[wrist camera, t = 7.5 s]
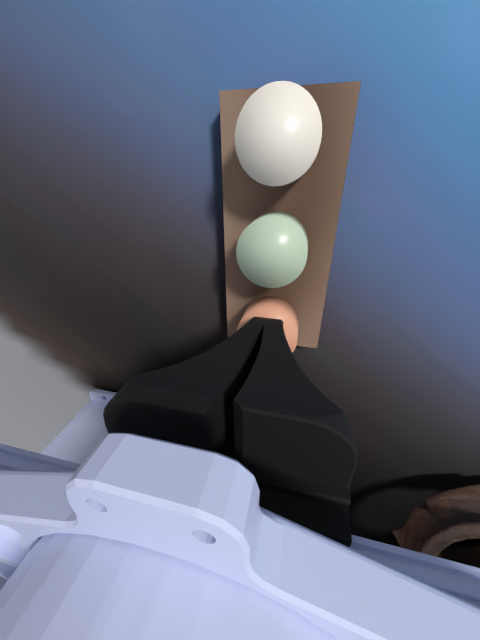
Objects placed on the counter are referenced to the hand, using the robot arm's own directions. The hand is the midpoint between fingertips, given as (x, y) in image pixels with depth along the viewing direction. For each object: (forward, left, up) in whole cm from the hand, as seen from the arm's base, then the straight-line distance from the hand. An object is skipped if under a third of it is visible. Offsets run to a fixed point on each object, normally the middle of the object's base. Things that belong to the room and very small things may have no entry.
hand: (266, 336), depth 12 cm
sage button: (0, +4, -2) cm, 4 cm away
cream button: (0, +8, -2) cm, 8 cm away
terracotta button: (0, 0, -2) cm, 2 cm away
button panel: (0, +4, -3) cm, 5 cm away
